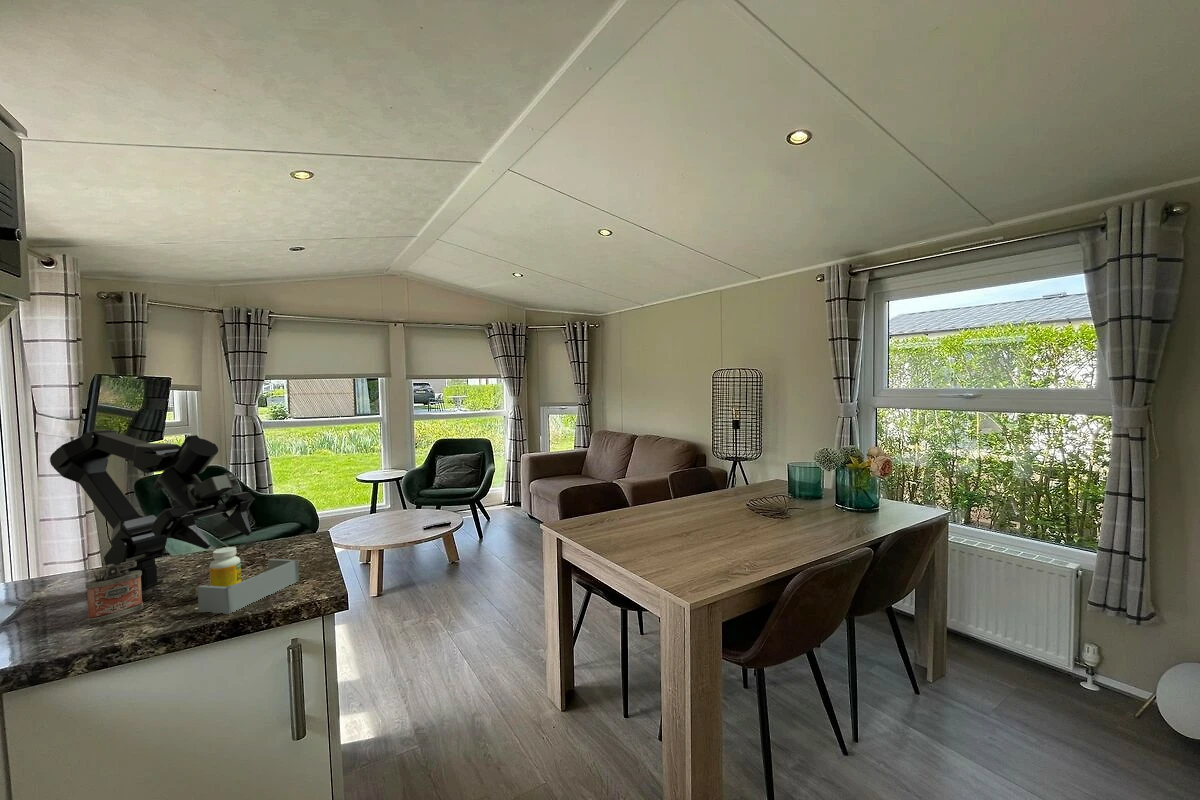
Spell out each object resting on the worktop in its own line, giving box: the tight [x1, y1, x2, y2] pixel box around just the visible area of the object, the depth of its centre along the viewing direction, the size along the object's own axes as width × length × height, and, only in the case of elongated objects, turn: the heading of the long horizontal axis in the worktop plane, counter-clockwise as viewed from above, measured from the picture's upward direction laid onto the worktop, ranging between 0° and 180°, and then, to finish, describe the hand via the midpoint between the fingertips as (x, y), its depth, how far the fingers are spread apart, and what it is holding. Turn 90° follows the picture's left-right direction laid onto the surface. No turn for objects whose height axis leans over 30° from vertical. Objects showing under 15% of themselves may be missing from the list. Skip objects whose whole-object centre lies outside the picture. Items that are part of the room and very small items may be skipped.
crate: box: [197, 558, 300, 615], centre depth 105 cm, size 7×17×5 cm, turn 167°
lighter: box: [85, 560, 144, 624], centre depth 98 cm, size 8×3×10 cm, turn 148°
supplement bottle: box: [208, 546, 242, 587], centre depth 106 cm, size 5×5×10 cm
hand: (230, 540), depth 106 cm, fingers open, 9 cm apart
